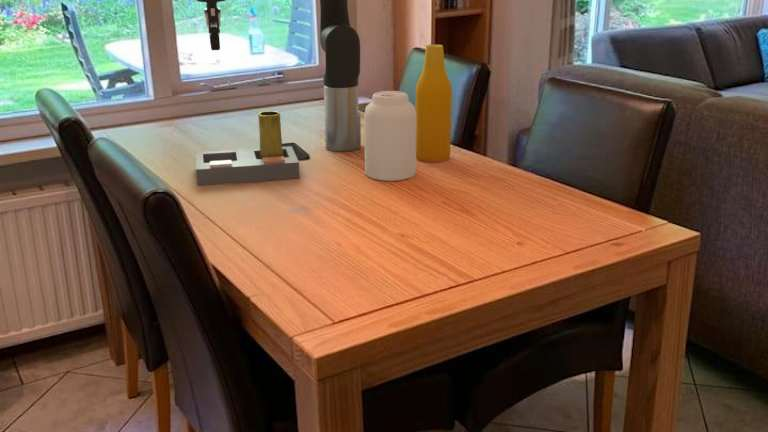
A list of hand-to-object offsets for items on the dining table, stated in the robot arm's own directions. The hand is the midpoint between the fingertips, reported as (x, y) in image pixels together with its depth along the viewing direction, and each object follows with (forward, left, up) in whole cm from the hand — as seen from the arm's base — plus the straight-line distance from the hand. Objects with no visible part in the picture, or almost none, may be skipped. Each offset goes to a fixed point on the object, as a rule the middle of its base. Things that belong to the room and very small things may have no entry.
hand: (215, 47), depth 195 cm
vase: (-11, +17, -28) cm, 35 cm away
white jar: (-39, +28, -28) cm, 56 cm away
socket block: (-5, +19, -28) cm, 34 cm away
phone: (-17, +3, -29) cm, 33 cm away
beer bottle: (-53, +17, -28) cm, 62 cm away
